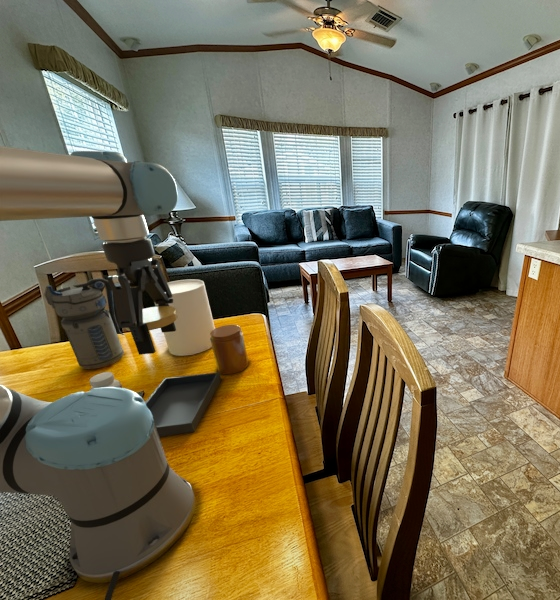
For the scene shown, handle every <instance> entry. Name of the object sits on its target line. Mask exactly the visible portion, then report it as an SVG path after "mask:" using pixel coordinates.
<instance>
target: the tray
mask: <svg viewBox="0 0 560 600" xmlns="http://www.w3.org/2000/svg"><path fill="white" fill-rule="evenodd" d="M221 382H222V377H221V373H220V372H217V371H216V372H208V373H199V374H198V373H197V374H190V375H189V374H188V375H180V376H171V377H169V376H168V377H164V378H163V379H162V381H161V382H160V383H159V384H158V385H157V387H156V388H155V389H154V391H153V392H152V393H151V394H150V396H149V397H148V398H147V399H146V400H145V401H144V402H145V404H146V406H147V408H148V409H149V410H150V411H151V413H152V415H153V419H154V423H155V426H156V429H157V432H158V435H159V438H160V437H167V436H174V435H181V434H191V433H195V431H196V429H197V427H198V425H199V423H200V421H201V420H202V418H203V416H204V414H205V412H206V410H207V408H208V406H209V404H210V403H211V400H212V399H213V397H214V395H215V393H216V391H217V389H218V387H219V385H220V384H221Z"/></svg>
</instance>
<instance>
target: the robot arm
mask: <svg viewBox="0 0 560 600" xmlns="http://www.w3.org/2000/svg"><path fill="white" fill-rule="evenodd" d="M178 202H179V192H178V189H177V183H176V181H175V179H174V177H173V175H172V174H171V173H170V172H169V170H168V169H167V168H165V167H164V166H163V165H160V164H159V163H155V162H149V161H148V162H147V161H145V162H143V161H141V160H134V161H127V158H126V157H125V156H124V154H122V153H120V152H117V151H101V150H100V151H98V150H97V151H95V150H93V151H92V150H76V151H75V150H74V151H72V152H71V154H65V153H57V152H48V151H41V150H33V149H26V148H18V147H12V146H11V147H10V146H2V145H0V222H8V221H9V222H10V221H27V220H45V219H46V220H47V219H49V220H50V219H68V218H88V217H91V218H92V219H93V226H94V227H95V229H96V232H97V235H98V238H99V240H101V241H102V244H101V247H102V250H103V253H104V256H105V259H106V261H108V262H109V263H112V264H114V265H116V269H117V274H115V275H109V276H107V280H108V282H109V284H110V286H111V289H112V294H113V304H114V310H115V316H116V321H117V324H118V327H119V329H125V328H129V329H130V331H129V332H130V335H131V337H132V339H133V342H134V345H135V347H136V350H137V353H138V355H139V356H140V355H148V354H149V355H150V354H155V353H156V348H155V345H154V342H153V339H152V336H151V334H150V330H148V327H147V324H146V323H143V310H142V309H143V292H146V293H147V294H148V295H149V297H150V298H151V299H152V301H153V303H154V302H155V303H156V304H158V305H155V303H154V305H153V307H157V306H169V304H168V303H173V299H169V298H172V293H171V291H170V288H169V286H168V284H167V283H168V281H167V280H166V277H165V275H164V273H163V271H162V268H161V264H160V260H159V258H153V257H154V256H155V255H156V253H155V249H154V246H153V242H152V240H151V238H150V237H148V236H149V235H150V232H149V229H148V225H147V222H146V219H145V216H151V217H153V216H154V215H156V216H157V215H166V214H170V213H171V212H172V211H173V210H174V209H175V208H176V207H177V204H178ZM165 292H166V293H165ZM160 331H161V333H164V332H174V331H176V327H175V324H174V322H173V323H171V324H169V325H167V326H164V327H161V328H160ZM145 402H146V401H145V400H144V398H143V397H142V396H141V395H140V394H139V393H137V392H135V391H133V390H132V389H129V388H125V387H122V388H120V387H101V388H93V389H92V390H91V391H90V390H89V391H83V390H80V391H77V392H74V393H70V394H68V395H66V396H62V397H60V398H58V399H56V400H55V401H45V400H40V399H37V398H34V397H31V396H29V395H27V394H24V393H22V392H18V391H16V390H14V389H11V388H9V387H6V386H4V385H1V384H0V493H7V494H9V493H10V494H25V495H40V496H41V495H42V496H43V495H44V496H52V497H55V498H56V499H57V500H58V501H59V503H60V505H61V507H62V508H63V510H64V512H65V513H66V515H67V516H68V519H69V521H70V523H71V524H70V538H69V539H70V542H69V562H70V565H71V566H72V568H73V569H74V572H75V574H77V576H78V577H79V578H80V579H81V580H83V581H85V582H88V583H95V584H104V583H109V584H108V587H107V590H106V593H105V596H104V599H103V600H112V598H113V594H114V592H115V589H116V586H117V583H118V580H121V579H124V578H126V577H129V576H131V575H133V574H135V573H138V572H139V571H142V570H143V569H145V568H146V567H147V566H149V565H151V564H152V563H154V562H155V561H157V560H158V559H159V558H161V557H162V556H163V555H164V554H165V553H166V552H168V551H169V550H170V549H171V548H172V547H173V546H174V545H175V544H176V543H177V542H178V541H179V540H180V538H181V537H182V535H183V534H184V533H185V532H186V530H187V528H188V527H189V525H190V523H191V521H192V520H193V517H194V515H195V512H196V511H195V510H196V505H197V501H196V495H195V492H194V490H193V487H192V485H191V484H190V483H189V482H188V481H187V480H186V479H185V478H183V477H182V476H180V475H179V474H178V473H176V472H175V470H174V469H172V468H171V466H170V465H169V462H168V460H167V459H168V458H167V456H166V453H165V450H164V447H163V445H162V441H161V438H160V437H159V435H158V432H157V429H156V426H155V423H154V419H153V415H152V413H151V411H150V410H149V409H148V408H147V406H146V404H145Z"/></svg>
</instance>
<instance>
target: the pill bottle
mask: <svg viewBox="0 0 560 600" xmlns="http://www.w3.org/2000/svg"><path fill="white" fill-rule="evenodd" d="M89 383H90V386H91V388H90V389H89V391H91V390H92V389H93V388H101V387H120V388H123V386H122V383H121V382H120V380H118V379H115V375H114V373H113V372H111V371H105V372H101V373H98V374H96V375H95V374H94V375H93V376H92V377H90V379H89Z"/></svg>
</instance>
